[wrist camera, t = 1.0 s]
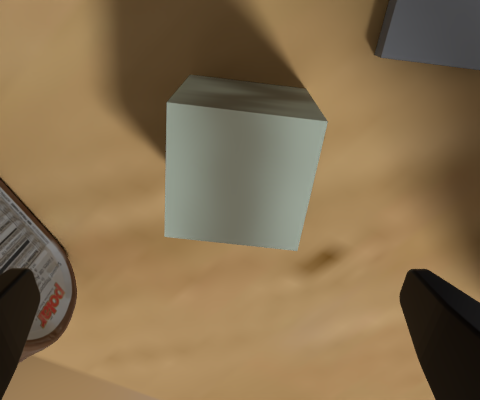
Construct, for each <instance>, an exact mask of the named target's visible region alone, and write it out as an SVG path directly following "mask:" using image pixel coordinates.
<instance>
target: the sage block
mask: <svg viewBox="0 0 480 400" xmlns="http://www.w3.org/2000/svg"><path fill="white" fill-rule="evenodd" d="M327 123H328V121H327V120H326V118H325V117H324V115H323V114H322V112H321V111H320V109H319V108H318V106H317V105H316V103H315V102H314V100H313V99H312V97H311V96H310V94H309V93H308V91H307V90H306V89H304V88H296V87H287V86H279V85H271V84H263V83H255V82H247V81H239V80H230V79H222V78H214V77H206V76H198V75H189V77H188V78H187V79H186V80H185V81H184V82H183V84H182V85H181V86H180V87H179V88H178V90H177V91H176V92H175V93H174V94H173V95H172V97H171V98H170V99H169V100H168V101H167V116H166V180H165V237H172V238H181V239H191V240H200V241H209V242H219V243H228V244H237V245H247V246H256V247H265V248H275V249H284V250H293V251H297V250H298V246H299V241H300V237H301V233H302V229H303V224H304V220H305V216H306V212H307V207H308V203H309V199H310V195H311V190H312V186H313V182H314V178H315V173H316V169H317V165H318V161H319V157H320V152H321V148H322V144H323V140H324V135H325V131H326V127H327Z"/></svg>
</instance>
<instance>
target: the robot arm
mask: <svg viewBox="0 0 480 400" xmlns="http://www.w3.org/2000/svg"><path fill="white" fill-rule="evenodd" d="M39 304H40V291H39V288H38V285H37V283H36V280H35V277H34V274H33V272H32V270H31V269H29V268H11V269H9V270H7V271H5V272H4V273H2V274H0V400H2V397H3V395H4V393H5V391H6V389H7V387H8V385H9V383H10V381H11V378H12V376H13V374H14V372H15V370H16V368H17V365H18V363H19V360H20V358H21V355H22V352H23V349H24V347H25V344H26V341H27V338H28V335H29V332H30V330H31V327H32V324H33V321H34V318H35V316H36V313H37V310H38V307H39ZM400 304H401V307H402V310H403V313H404V316H405V320H406V323H407V326H408V329H409V332H410V335H411V338H412V341H413V345H414V348H415V351H416V354H417V357H418V359H419V362H420V365H421V367H422V369H423V372H424V374H425V376H426V379H427V381H428V383H429V386H430V388H431V390H432V392H433V395H434V397H435V399H436V400H480V303H479V302H478V301H476V300H475V299H473V298H471V297H470V296H468V295H467V294H465V293H464V292H462V291H461V290H459V289H457V288H456V287H454V286H453V285H451V284H450V283H448V282H446V281H445V280H443V279H442V278H440V277H439V276H437V275H436V274H434V273H432V272H431V271H429V270H427V269H411V270H409V271H408V272H407V274H406V277H405V280H404V283H403V286H402V289H401V292H400Z"/></svg>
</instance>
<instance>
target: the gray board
mask: <svg viewBox="0 0 480 400" xmlns="http://www.w3.org/2000/svg"><path fill="white" fill-rule="evenodd" d="M375 55H376V56H378V57H381V58H388V59H396V60H404V61H412V62H420V63H427V64H435V65H443V66H451V67H459V68H467V69H475V70H480V0H389V4H388V7H387V11H386V14H385V18H384V22H383V25H382V29H381V33H380V36H379V40H378V44H377V47H376V51H375Z"/></svg>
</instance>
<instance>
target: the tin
mask: <svg viewBox="0 0 480 400" xmlns="http://www.w3.org/2000/svg"><path fill="white" fill-rule="evenodd" d="M11 268H29V269H31V270H32V272H33V274H34V277H35V280H36V283H37V285H38V288H39V291H40V304H39V307H38V310H37V313H36V316H35V318H34V321H33V324H32V327H31V330H30V332H29V335H28V338H27V341H26V344H25V347H24V349H23V352H22V355H21V358H20V360H19V362H22V361H23V360H24V359H26V358H27V357H29V356H31V355H33V354H35V353H37V352H39V351H41V350H43V349H45V348H46V347H48V346H50V345H51V344H53V343H54V342H55V341H57V340H58V339H59V337H60V336H61V335H62V334H63V332H64V331H65V330H66V328H67V326H68V324H69V322H70V320H71V317H72V314H73V311H74V308H75V304H76V298H77V288H76V280H75V276H74V272H73V269H72V266H71V264H70V261H69V259H68V257H67V256H66V254H65V252H64V250H63V249H62V247H61V246H60V245H59V243H58V242H57V241H56V240H55V239H54V238H53V236H52V235H51V234H50V233H49V232H48V231H47V230H46V229H45V228H44V227H43V226H42V225H41V223H40V222H39V221H38V220H37V219H36V218H35V217H34V216H33V215H32V214H31V212H30V211H29V210H28V209H27V208H26V207H25V206H24V205H23V204H22V203H21V201H20V200H19V199H18V198H17V197H16V196H15V195H14V194H13V193H12V192H11V191H10V189H9V188H8V187H7V186H6V185H5V184H4V183H3V182H2V181H1V180H0V274H2V273H4V272H5V271H7V270H9V269H11Z"/></svg>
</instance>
